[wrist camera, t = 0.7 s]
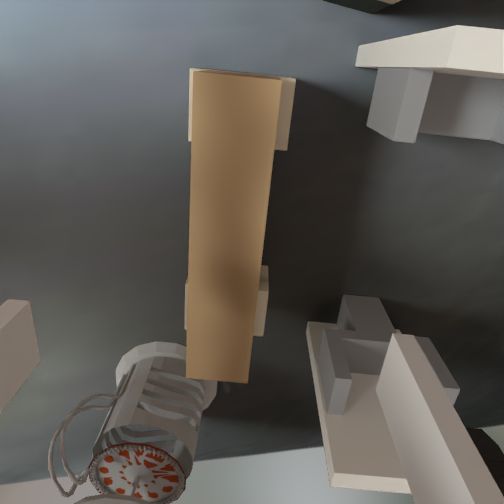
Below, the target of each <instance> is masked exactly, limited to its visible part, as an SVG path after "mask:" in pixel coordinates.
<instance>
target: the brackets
mask: <svg viewBox="0 0 504 504" xmlns="http://www.w3.org/2000/svg"><path fill="white" fill-rule="evenodd" d="M355 67H364V68H374V69H378V72H377V77H376V82H375V87H374V92H373V96H372V101H371V106H370V111H369V116H368V120H367V125H366V126H368V127H369V128H371V129H373V130H375V131H376V132H378V133H380V134H381V135H383V136H385V137H387V138H388V139H390V140H392V141H397V142H407V143H415V140H416V137H417V133H424V134H434V135H444V136H454V137H464V138H474V139H484V140H492V141H495V142H498V143H501V144H504V30H501V29H491V28H481V27H472V26H462V25H456V26H451V27H446V28H441V29H436V30H432V31H427V32H422V33H417V34H413V35H408V36H403V37H398V38H393V39H389V40H384V41H379V42H374V43H369V44H365V45H360V46H359V48H358V53H357V59H356V64H355ZM392 333H396V334H401V332H400V330H399V329H394V327H393V325H392V323H391V321H390V319H389V317H388V315H387V313H386V311H385V309H384V307H383V305H382V303H381V301H380V299H379V298H378V297H367V296H356V295H346V294H343V297H342V302H341V306H340V311H339V315H338V320H337V324H333V323H322V322H311V321H308V323H307V329H306V337H307V343H308V349H309V355H310V362H311V368H312V374H313V381H314V387H315V393H316V400H317V406H318V412H319V418H320V425H321V431H322V437H323V444H324V450H325V455H326V462H327V469H328V475H329V481H330V487H337V488H350V489H361V490H372V491H384V492H397V493H408V494H411V491H410V488H409V485H408V482H407V479H406V477H405V474H404V471H403V468H402V465H401V462H400V459H399V456H398V453H397V451H396V448H395V445H394V442H393V439H392V436H391V433H390V430H389V427H388V425H387V422H386V419H385V416H384V413H383V410H382V407H381V404H380V401H379V399H378V396H377V393H376V387H377V383H378V380H379V377H380V373H381V370H382V367H383V363H384V360H385V357H386V353H387V350H388V347H389V343H390V340H391V337H392ZM414 337H415V339H416V341H417V342H418V344H419V346H420V348H421V350H422V351H423V353H424V355H425V357H426V359H427V360H428V362H429V364H430V366H431V367H432V369H433V371H434V373H435V375H436V376H437V378H438V380H439V382H440V384H441V385H442V387H443V389H444V391H445V393H446V394H447V396H448V398H449V400H450V402H451V403H452V405H454V403H455V401H456V398H457V396H458V394H459V391H460V388H459V386H458V385H457V383H456V381H455V380H454V378H453V376H452V375H451V373H450V371H449V370H448V368H447V366H446V365H445V363H444V362H443V360H442V358H441V357H440V355H439V353H438V352H437V350H436V348H435V347H434V345H433V343H432V342H431V340H430V339H429V338H428V337H417V336H414Z"/></svg>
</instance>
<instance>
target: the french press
mask: <svg viewBox="0 0 504 504" xmlns="http://www.w3.org/2000/svg"><path fill="white" fill-rule="evenodd" d="M116 385H117V389H116V391H115V394H114V395H109V394H99V395H95V396H91V397H88V398H86V399H85V400H83V401H82V402H80V403H79V404H78V405H77V406H76V407H75V408H74V409H73V410H72V411H71V413H70V414H69V416H68V417H67V418H66V419H65V420H64V421H63V422H62V424H61V425H60V427H59V428H58V430H57V431H56V433H55V434H54V436H53V437H52V439H51V443H50V447H49V455H48V468H49V471H50V474H51V478H52V480H53V483H54V484H55V486H56V488H57V489H58V491H59V492H60V493H61V495H62V496H64V497H69V496H71V495H73V494H74V491H75V489H76V487H77V485H81V484H83V483H84V482H86V480H87V477H88V474H89V477H90V481H91V482H92V484H93V485H94V487H95V488H96V489H97V491H98V492H99V493H100V494H101V495H95V496H89V497H85V498H83V499H82V500H80V501H78V502H76V503H74V504H170V503H172V502H173V501H175V500H177V499H178V498H179V497H180V495H181V494H182V493H183V491H184V490H185V485H186V479H187V478H188V477H189V475H190V473H191V470H192V465H193V461H194V455H195V450H196V445H197V439H198V434H199V428H200V422H201V417H202V411H203V410H205V409H206V408H208V407H209V405H210V404H211V402H212V401H213V399H214V398H215V396H216V393H217V381H215V380H204V379H192V378H186V347H185V346H183V345H180V344H178V343H169V342H159V341H155V342H151V343H147V344H143V345H138V346H136V347H135V348H133V349H132V350H130V351H129V352H128V353H126V354H125V355H123V356H122V358H121V360H120V362H119V364H118V366H117V368H116ZM100 397H102V398H112V400H111V402H110V404H109V405H108V406H92V405H91V406H87V407H82V408H80V407H81V406H83V405H84V404H85V403H87V402H88V401H89V400H91V399H95V398H100ZM110 407H111V408H110ZM109 408H110V411H109V413H108V415H107V417H106V420H105V422H104V424H103V427H102V429H101V431H100V433H99V436H98V438H97V440H96V442H95V445H94V447H93V460H92V462H91V463H90V465H89V467H88V468H86V469H85V470H84V471H83V472H82V473H81V474H80V475H79V476H78V477H77V478H76V477H75V476H74V474H73V473H72V471H71V470H70V469H69V467H68V464H67V460H66V457H65V454H64V437H65V432H66V427H67V426H68V424H69V422H70V421H71V419H72V417H73V416H75V415H76V414H78V413H79V412H80V411H84V410H89V409H97V410H107V409H109ZM129 424H130V425H135V426H137V427H141V426H151V427H156V428H160V429H162V430H154V431H144V432H136V431H134V430H131V429H129V428H127V427H126V426H125V425H129ZM63 425H64V426H63ZM115 427H120V428H121V430H122V432H123V433H124V434H126V435H128V436H130V437H132V438H144V437H156V436H167V435H175V436H176V437H177V440H176V441H156V442H147V443H131V442H128V441H125V440H122V439H121V437H120V436H119V434H118V432H117V431H116V429H115ZM61 429H62V432H61V437H60V455H61V458H62V461H63V465H64V468H65V471H66V472H67V474H68V475H69V477H70V478H71V480H72V481H73V483H74V484H73V486H72V487H71V489H70V491H69V493H67V492H65V491H64V490H63V488H62V487H61V485H60V484H59V483H58V481H57V479H56V475H55V472H54V468H53V448H54V443H55V441H56V439H57V437H58V435H59V433H60V431H61ZM110 429H111V433H112V435H113V437H114V439H115V440H116V442H117V444H116V445H112V444H111V442H110V441H109V435H108V431H109V430H110ZM104 438H105V444H106V449H105V450H103V448H102V441H103V439H104ZM161 447H175V448H174V453H167V452H166V451H164V450H162V449H159V448H161ZM82 477H83V478H82ZM81 478H82V480H80V479H81Z"/></svg>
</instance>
